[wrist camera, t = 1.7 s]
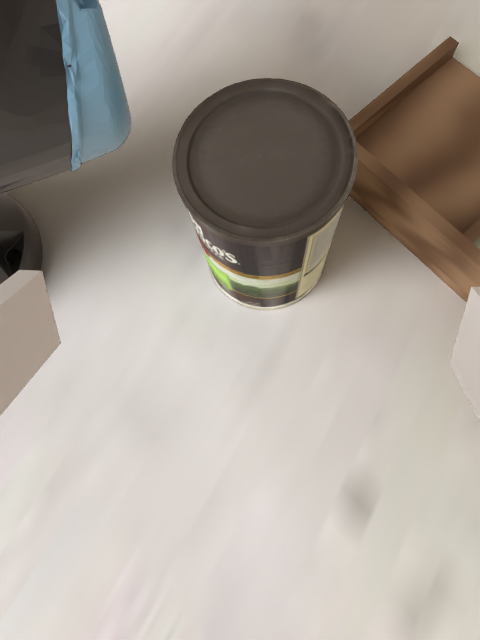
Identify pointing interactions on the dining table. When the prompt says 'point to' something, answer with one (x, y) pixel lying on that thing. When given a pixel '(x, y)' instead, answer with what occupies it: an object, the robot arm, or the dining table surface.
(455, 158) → the tray
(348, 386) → the dining table surface
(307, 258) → the coffee can
